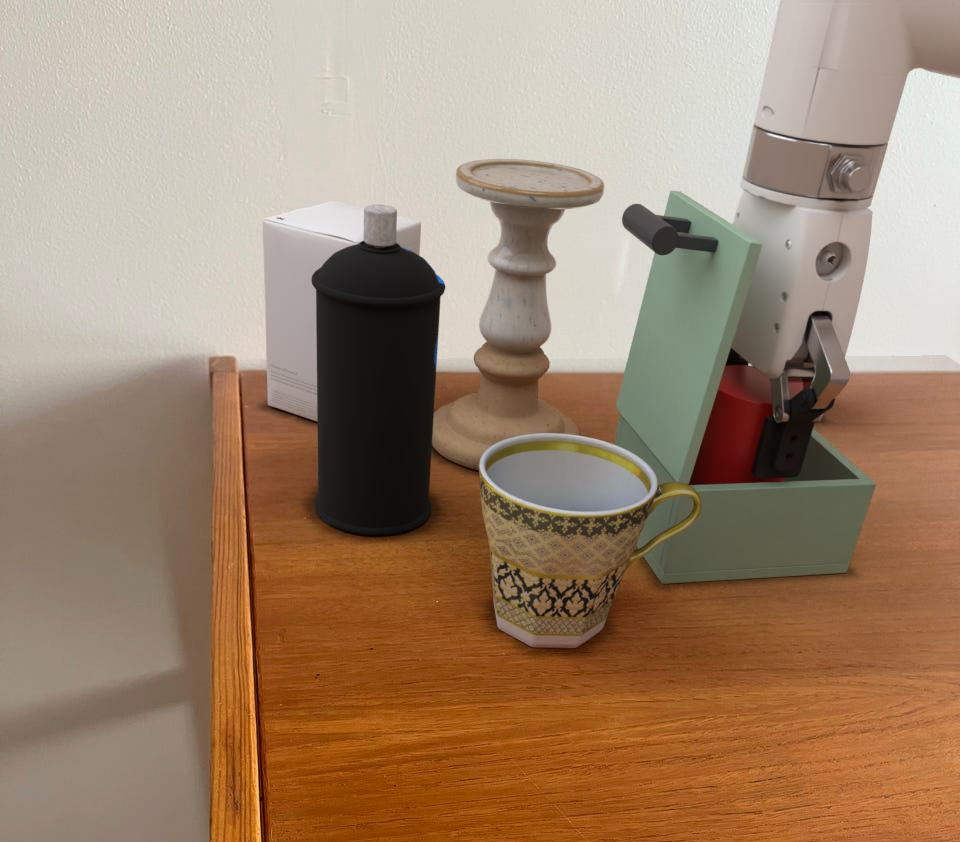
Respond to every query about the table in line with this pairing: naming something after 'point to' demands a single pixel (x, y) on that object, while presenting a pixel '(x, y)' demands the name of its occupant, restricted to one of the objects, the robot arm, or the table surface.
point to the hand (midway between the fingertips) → (742, 443)
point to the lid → (683, 325)
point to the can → (736, 427)
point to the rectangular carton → (306, 292)
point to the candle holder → (513, 306)
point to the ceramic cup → (565, 531)
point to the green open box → (759, 520)
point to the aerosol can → (376, 381)
